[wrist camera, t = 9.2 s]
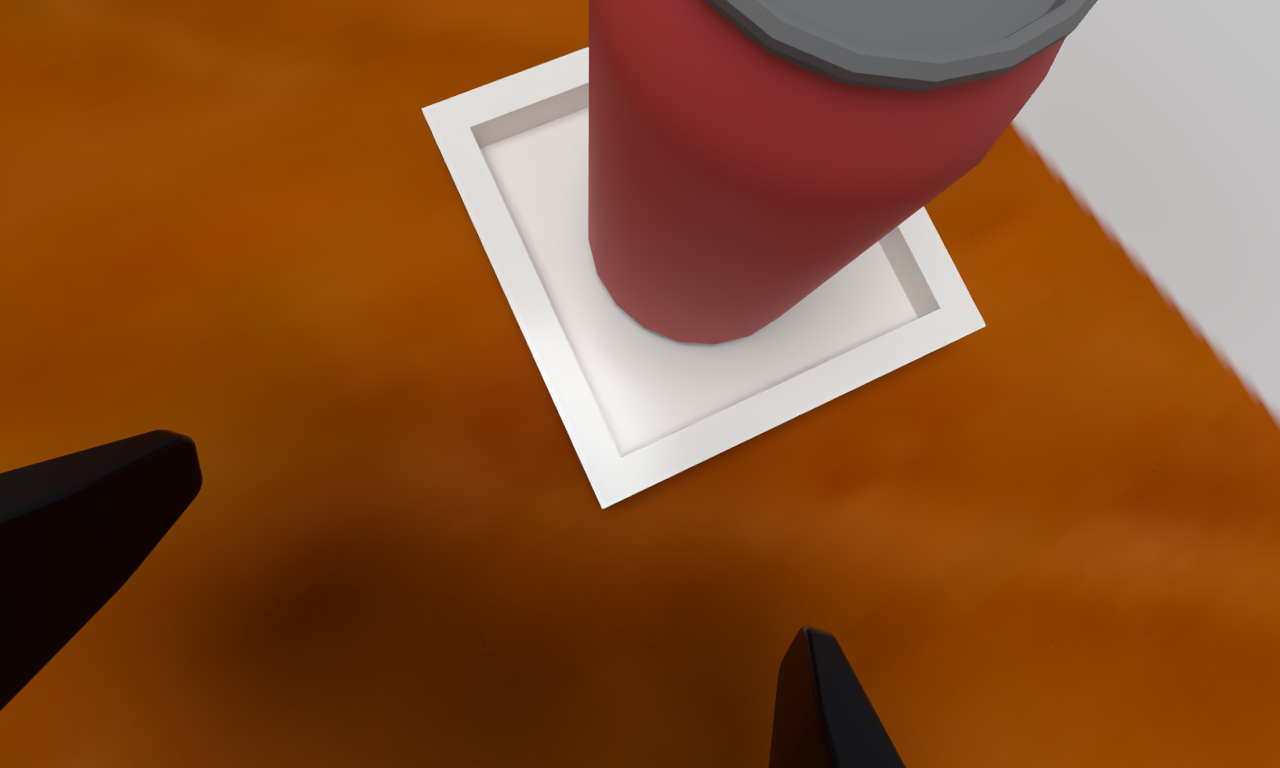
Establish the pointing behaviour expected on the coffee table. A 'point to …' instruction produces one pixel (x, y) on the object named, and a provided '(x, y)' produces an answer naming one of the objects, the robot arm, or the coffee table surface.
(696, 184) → the beer can
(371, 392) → the coffee table surface
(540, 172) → the dock tray
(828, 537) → the coffee table surface
